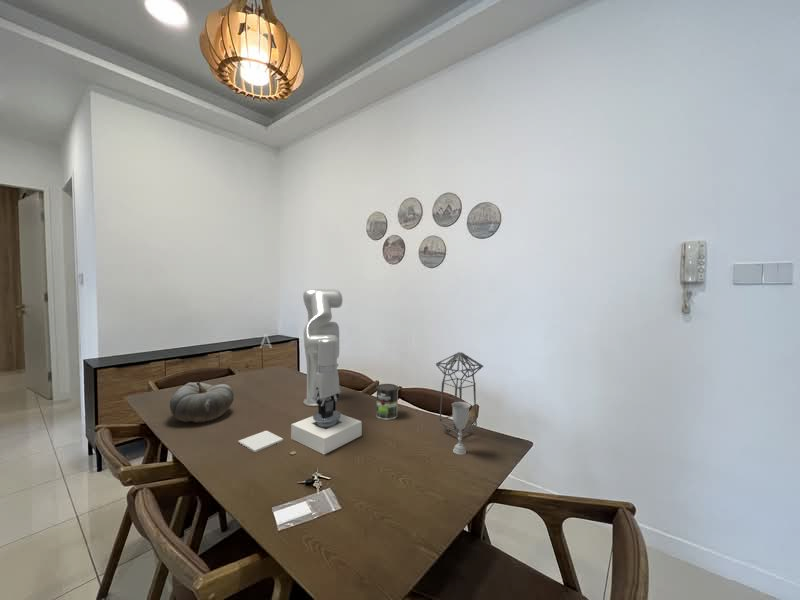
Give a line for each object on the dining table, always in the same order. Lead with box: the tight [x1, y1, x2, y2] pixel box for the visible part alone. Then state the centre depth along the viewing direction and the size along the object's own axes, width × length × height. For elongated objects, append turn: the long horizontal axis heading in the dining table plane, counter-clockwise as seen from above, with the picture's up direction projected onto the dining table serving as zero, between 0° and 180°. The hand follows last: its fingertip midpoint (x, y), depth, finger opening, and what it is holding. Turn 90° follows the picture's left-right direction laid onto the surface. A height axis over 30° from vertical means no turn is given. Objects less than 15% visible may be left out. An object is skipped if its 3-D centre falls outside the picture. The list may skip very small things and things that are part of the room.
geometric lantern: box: [435, 351, 484, 439], centre depth 143 cm, size 16×16×35 cm
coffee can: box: [375, 383, 399, 421], centre depth 161 cm, size 10×10×14 cm
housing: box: [290, 413, 363, 455], centre depth 138 cm, size 20×20×6 cm
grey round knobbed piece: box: [312, 397, 342, 429], centre depth 137 cm, size 11×11×12 cm
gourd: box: [169, 381, 235, 423], centre depth 155 cm, size 25×25×17 cm
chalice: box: [451, 401, 471, 455], centre depth 128 cm, size 7×7×18 cm
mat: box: [237, 430, 284, 453], centre depth 133 cm, size 12×12×1 cm
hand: (327, 411), depth 137 cm, fingers closed on grey round knobbed piece, 5 cm apart
